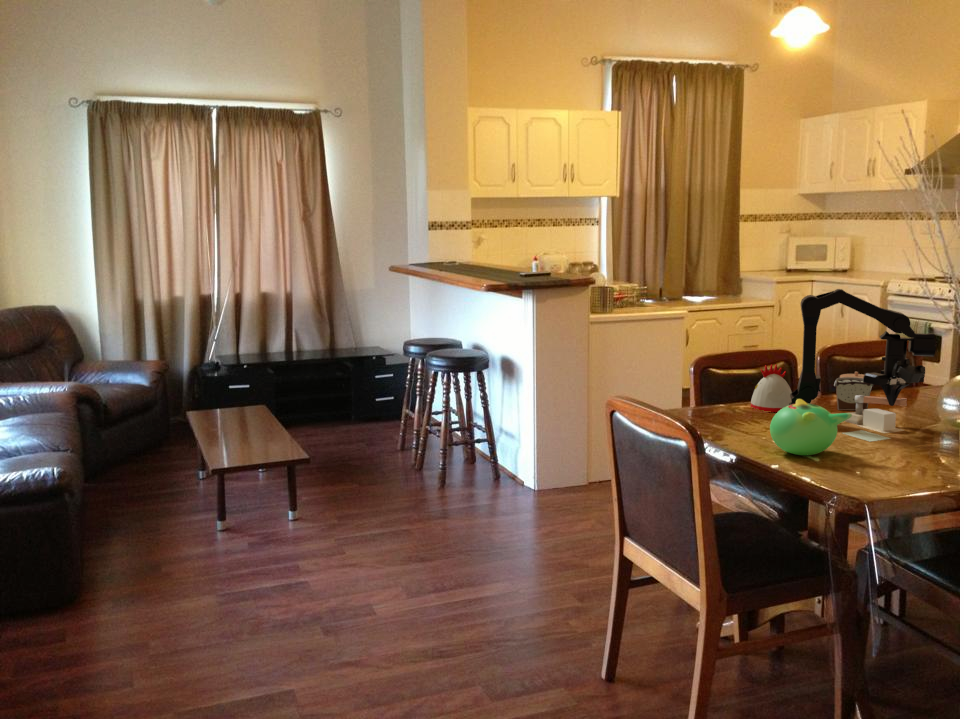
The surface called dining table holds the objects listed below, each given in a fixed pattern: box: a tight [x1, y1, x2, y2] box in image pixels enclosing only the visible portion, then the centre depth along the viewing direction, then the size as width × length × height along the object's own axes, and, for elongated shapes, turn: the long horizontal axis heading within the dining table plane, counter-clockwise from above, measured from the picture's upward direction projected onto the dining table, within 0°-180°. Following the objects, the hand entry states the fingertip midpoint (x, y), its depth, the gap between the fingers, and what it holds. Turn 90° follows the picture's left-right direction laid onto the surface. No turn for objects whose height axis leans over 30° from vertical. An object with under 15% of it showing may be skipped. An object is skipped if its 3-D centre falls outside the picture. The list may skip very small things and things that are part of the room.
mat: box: [841, 429, 892, 443], centre depth 260 cm, size 8×11×1 cm
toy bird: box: [769, 399, 852, 456], centre depth 242 cm, size 18×17×15 cm
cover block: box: [862, 407, 897, 431], centre depth 269 cm, size 5×8×5 cm, turn 22°
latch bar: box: [855, 395, 908, 407], centre depth 273 cm, size 4×14×2 cm, turn 63°
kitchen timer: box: [750, 364, 793, 413], centre depth 299 cm, size 14×14×15 cm
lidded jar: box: [839, 371, 873, 392], centre depth 314 cm, size 11×11×9 cm
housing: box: [844, 402, 905, 434], centre depth 271 cm, size 8×16×7 cm, turn 22°
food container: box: [833, 377, 874, 411], centre depth 298 cm, size 12×6×10 cm, turn 84°
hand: (891, 405), depth 270 cm, fingers closed
